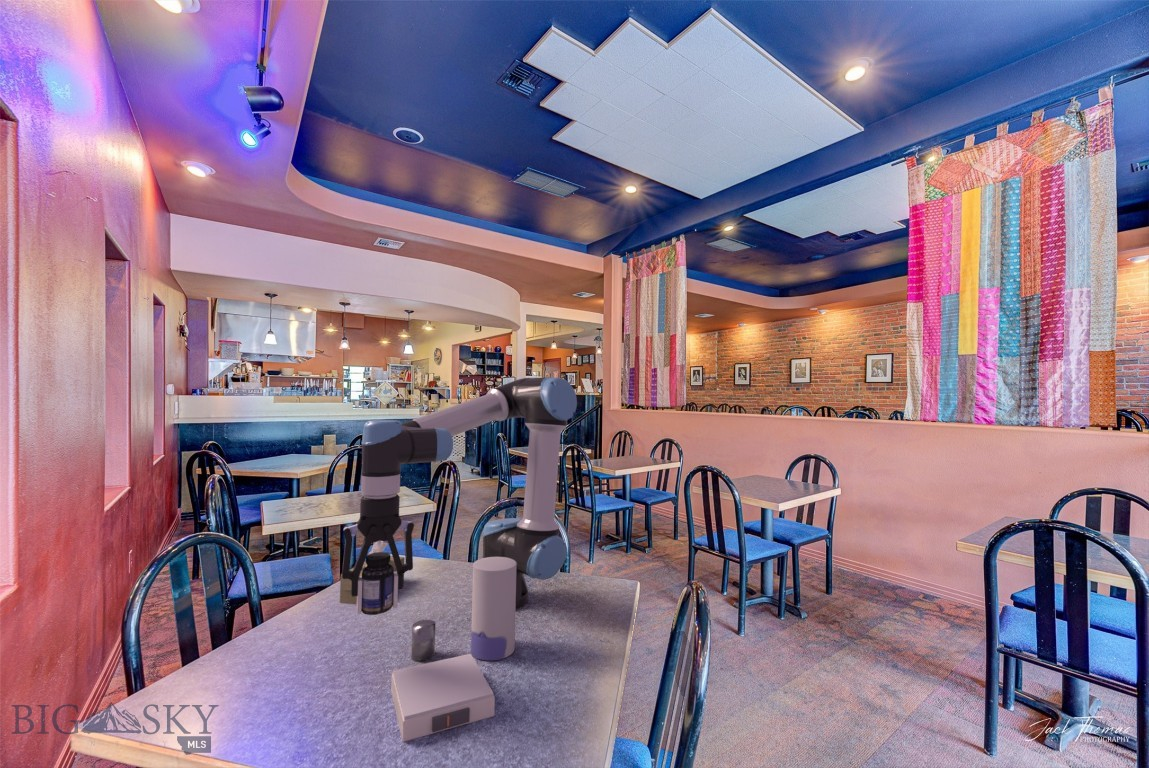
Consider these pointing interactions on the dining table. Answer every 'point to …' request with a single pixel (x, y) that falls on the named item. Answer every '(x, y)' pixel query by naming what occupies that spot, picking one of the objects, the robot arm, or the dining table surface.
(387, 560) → the pill bottle
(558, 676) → the dining table surface
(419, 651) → the cylinder
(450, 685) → the scale
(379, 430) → the robot arm
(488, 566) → the container
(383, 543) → the tissue box
